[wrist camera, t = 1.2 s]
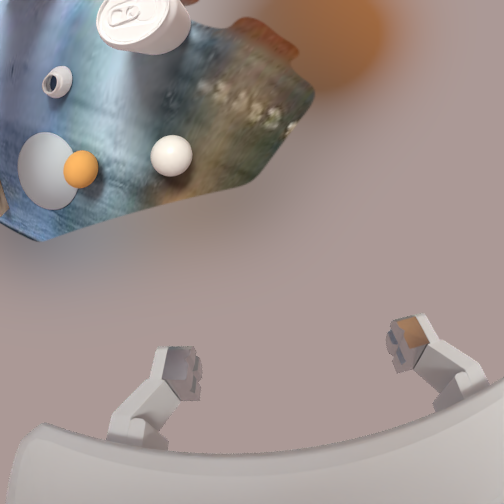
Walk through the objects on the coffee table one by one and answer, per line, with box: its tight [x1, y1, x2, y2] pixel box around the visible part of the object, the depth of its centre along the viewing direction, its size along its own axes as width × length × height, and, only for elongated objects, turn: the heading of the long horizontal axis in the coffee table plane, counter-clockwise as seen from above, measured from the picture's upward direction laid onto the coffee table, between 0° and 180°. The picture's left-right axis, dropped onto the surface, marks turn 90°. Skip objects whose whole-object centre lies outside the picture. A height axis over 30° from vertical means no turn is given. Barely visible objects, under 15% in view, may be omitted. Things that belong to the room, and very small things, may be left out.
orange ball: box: [63, 150, 98, 188], centre depth 32 cm, size 6×6×6 cm
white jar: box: [42, 66, 72, 98], centre depth 25 cm, size 5×3×5 cm
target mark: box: [18, 132, 78, 210], centre depth 34 cm, size 14×14×1 cm
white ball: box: [151, 135, 192, 176], centre depth 33 cm, size 6×6×6 cm
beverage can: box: [96, 0, 191, 55], centre depth 19 cm, size 8×8×12 cm
